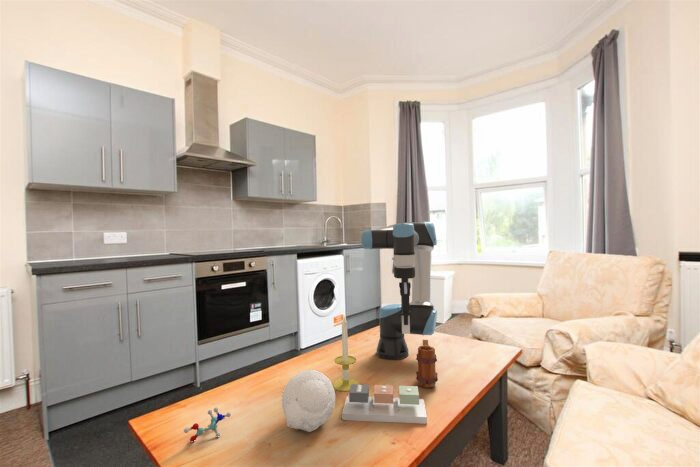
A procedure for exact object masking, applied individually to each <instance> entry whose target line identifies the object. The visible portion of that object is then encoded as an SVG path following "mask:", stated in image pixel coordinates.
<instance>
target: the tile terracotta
mask: <svg viewBox="0 0 700 467" xmlns="http://www.w3.org/2000/svg"><path fill="white" fill-rule="evenodd" d="M373 397H374V403H386V404H393V398H394V385H386V384H385V385H383V384H374V391H373Z"/></svg>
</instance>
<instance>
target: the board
mask: <svg viewBox="0 0 700 467" xmlns="http://www.w3.org/2000/svg"><path fill="white" fill-rule="evenodd" d="M426 410H427V409H426V406H425V401H424V398H419V405H412V404H400V398H399V397H398V396H397V397H393V404H386V403H374V395H373V396H369V399H368V403H360V402H349V395H347V396H346V397H345V401H344V405H343V409H342V413H341V417H342V418H341V420H342V421H356V422H358V421H359V422H379V423H380V422H381V423H403V424H404V423H406V424H421V425H422V424H423V425H424V424H425V425H427V424H428V416H427V411H426Z"/></svg>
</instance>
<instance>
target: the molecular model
mask: <svg viewBox="0 0 700 467" xmlns="http://www.w3.org/2000/svg"><path fill="white" fill-rule="evenodd" d="M213 412H214V413H216V415H217V416H214V415H213ZM207 414H208V415H210V418H211V419H210V423H209V424H208V425H207V427H208V428H207V427H206V428H203V427H200V426H199V423H196V422H195V423H194V424H193V425H192V426H191V427H186V428H184V429H183V432H184V434H188V433H189V431H192V430H195V431H196V433H194V435H192V436H191V437H190V438H189V441H190V442H191V441H194V440H196V441H197V438H198V437H199V436H201V435H203V434H204V432H206V431H208V430H210V431H214V433H215V437H216V436H217V437H216V438H219V437H218V436H220V437H221V432H219V430H218V429H217V428H218V423H219V422H220V421H223V420H225V418H226V417H227V418H230V417H231V415H232V414H231V412H226V414H221V413H220V412H219V408H218V407H214V408H213V410H212V409H209V410H207Z"/></svg>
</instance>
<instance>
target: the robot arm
mask: <svg viewBox="0 0 700 467" xmlns="http://www.w3.org/2000/svg"><path fill="white" fill-rule="evenodd" d="M435 228H436V227H435V224H434V222H432V221H414V222H413V221H412V222H411V221H410V222H399V223H394V224H391V225H388V226H386V227H385V228H378V229H374V230H373V229H372V230H371V229H368V230H363V231H362V233H361V238H360V243H361V246H362V248H363V249H367V250H380V249H381V250H382V249H383V250H385V249H387V250H393V257H392V258H391V261H393V266H395V267H394V268H393V277H394V278H395V279H400V281H401V282H398V284H399V295H400V298H401V300H400V301H401V302H400V303H401V304H400V303H394V304H393V303H392V304H388V305H384V306H382V307H381V308H380V309H379V316H378V318H379V341H378V342H377V347H376V355H377V357H379V358H382V359H384V360H390V361H391V360H403V359H406V358H407V357H409V348H408V344H407V341H406V339H405V335H419V336H432V335H434V334H435V330H436V326H437V318H438V317H437V315H438V310H437V309H434V308H435V306H434V304H432V302H431V253H432V251H433V250H434V247H435V246H437V244H438V243H437V242H438V241H437V234H436V233H437V232H436V229H435ZM409 279H411V282H412V283H411V282H409ZM410 297H411V302H410Z"/></svg>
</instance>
